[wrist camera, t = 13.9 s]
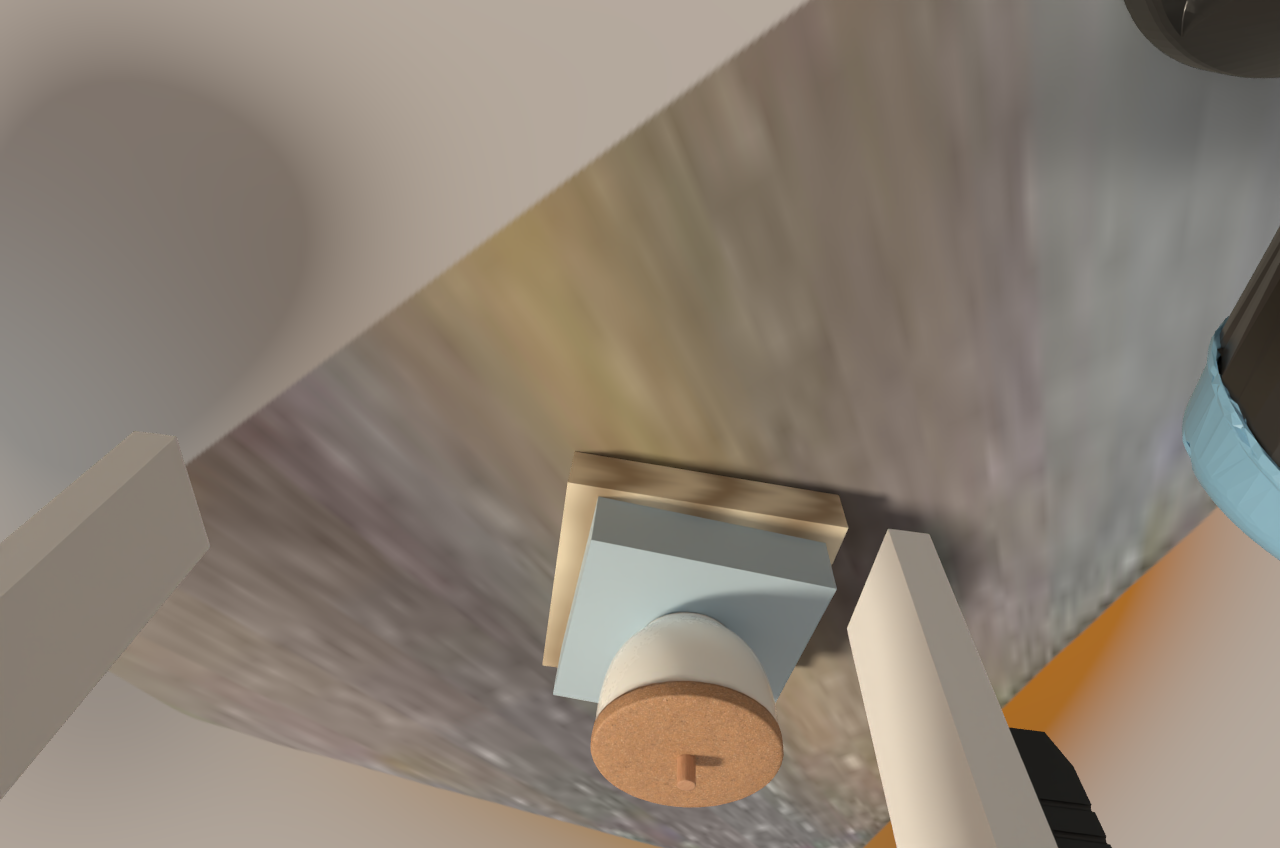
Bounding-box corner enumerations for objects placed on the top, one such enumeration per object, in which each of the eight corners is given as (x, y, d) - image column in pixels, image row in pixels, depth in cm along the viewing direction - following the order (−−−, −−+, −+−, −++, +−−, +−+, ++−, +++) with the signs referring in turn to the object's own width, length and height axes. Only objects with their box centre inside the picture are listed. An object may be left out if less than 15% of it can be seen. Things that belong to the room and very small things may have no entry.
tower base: (836, 488, 48) (848, 528, 45) (767, 657, 58) (772, 699, 55) (576, 445, 47) (567, 482, 44) (550, 623, 57) (542, 665, 54)
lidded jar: (573, 655, 47) (551, 795, 39) (662, 559, 42) (657, 698, 34) (705, 714, 50) (709, 856, 42) (804, 631, 44) (830, 775, 36)
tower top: (825, 542, 45) (836, 588, 42) (754, 684, 54) (759, 732, 50) (598, 496, 44) (591, 539, 41) (561, 648, 52) (552, 694, 49)
